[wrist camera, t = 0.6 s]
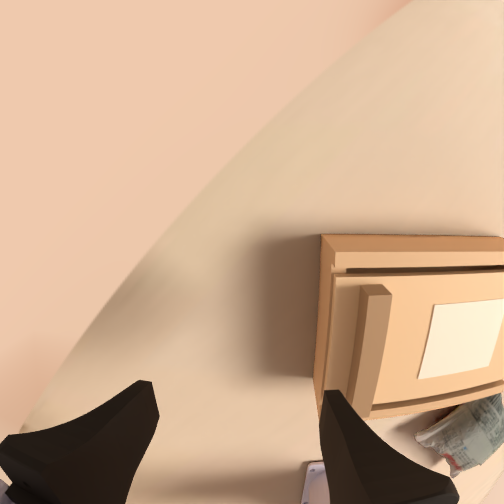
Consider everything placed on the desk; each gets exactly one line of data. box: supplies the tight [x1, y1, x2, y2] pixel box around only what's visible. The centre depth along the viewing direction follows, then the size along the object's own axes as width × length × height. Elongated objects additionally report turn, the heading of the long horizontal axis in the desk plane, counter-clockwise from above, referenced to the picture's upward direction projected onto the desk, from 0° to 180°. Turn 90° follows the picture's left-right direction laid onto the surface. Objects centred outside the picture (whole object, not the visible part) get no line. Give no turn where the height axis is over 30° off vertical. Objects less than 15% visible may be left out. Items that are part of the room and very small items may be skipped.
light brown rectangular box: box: [313, 234, 504, 422], centre depth 18 cm, size 11×15×5 cm
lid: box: [322, 269, 504, 418], centre depth 15 cm, size 8×15×2 cm, turn 91°
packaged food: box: [414, 393, 504, 478], centre depth 20 cm, size 9×12×5 cm
